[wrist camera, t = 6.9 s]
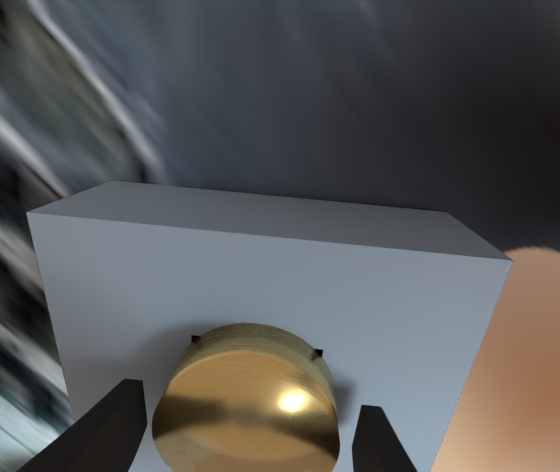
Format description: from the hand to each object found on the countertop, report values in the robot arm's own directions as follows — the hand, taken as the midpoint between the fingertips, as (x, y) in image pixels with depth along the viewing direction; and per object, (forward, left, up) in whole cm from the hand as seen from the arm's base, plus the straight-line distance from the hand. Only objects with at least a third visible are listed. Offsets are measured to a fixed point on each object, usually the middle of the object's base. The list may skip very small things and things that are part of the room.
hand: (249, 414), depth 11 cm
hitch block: (0, 0, -5) cm, 5 cm away
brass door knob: (0, 0, -5) cm, 5 cm away
